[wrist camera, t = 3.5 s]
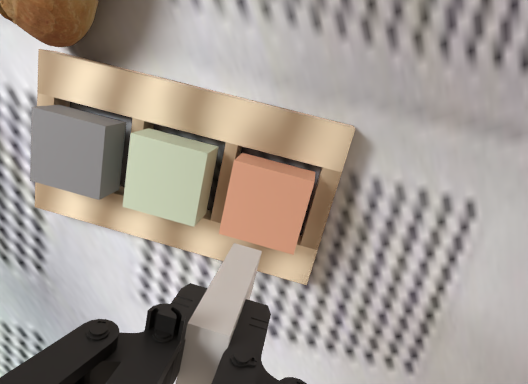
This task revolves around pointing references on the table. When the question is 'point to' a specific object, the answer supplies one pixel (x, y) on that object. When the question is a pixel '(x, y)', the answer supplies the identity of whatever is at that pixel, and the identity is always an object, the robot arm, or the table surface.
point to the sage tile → (169, 176)
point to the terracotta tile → (266, 202)
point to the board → (205, 124)
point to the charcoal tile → (76, 150)
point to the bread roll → (52, 19)
